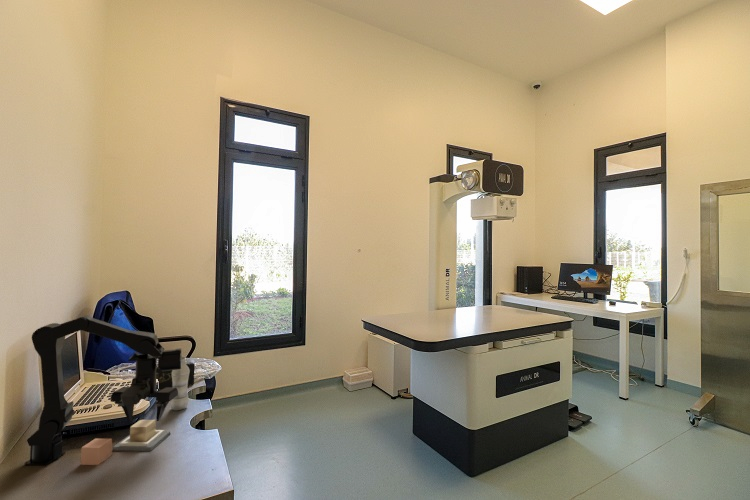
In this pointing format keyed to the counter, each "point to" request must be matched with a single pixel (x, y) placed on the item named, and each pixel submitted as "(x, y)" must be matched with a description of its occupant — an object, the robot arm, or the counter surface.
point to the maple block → (142, 431)
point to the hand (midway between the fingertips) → (144, 420)
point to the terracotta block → (96, 451)
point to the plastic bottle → (180, 386)
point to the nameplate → (166, 376)
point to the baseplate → (142, 446)
